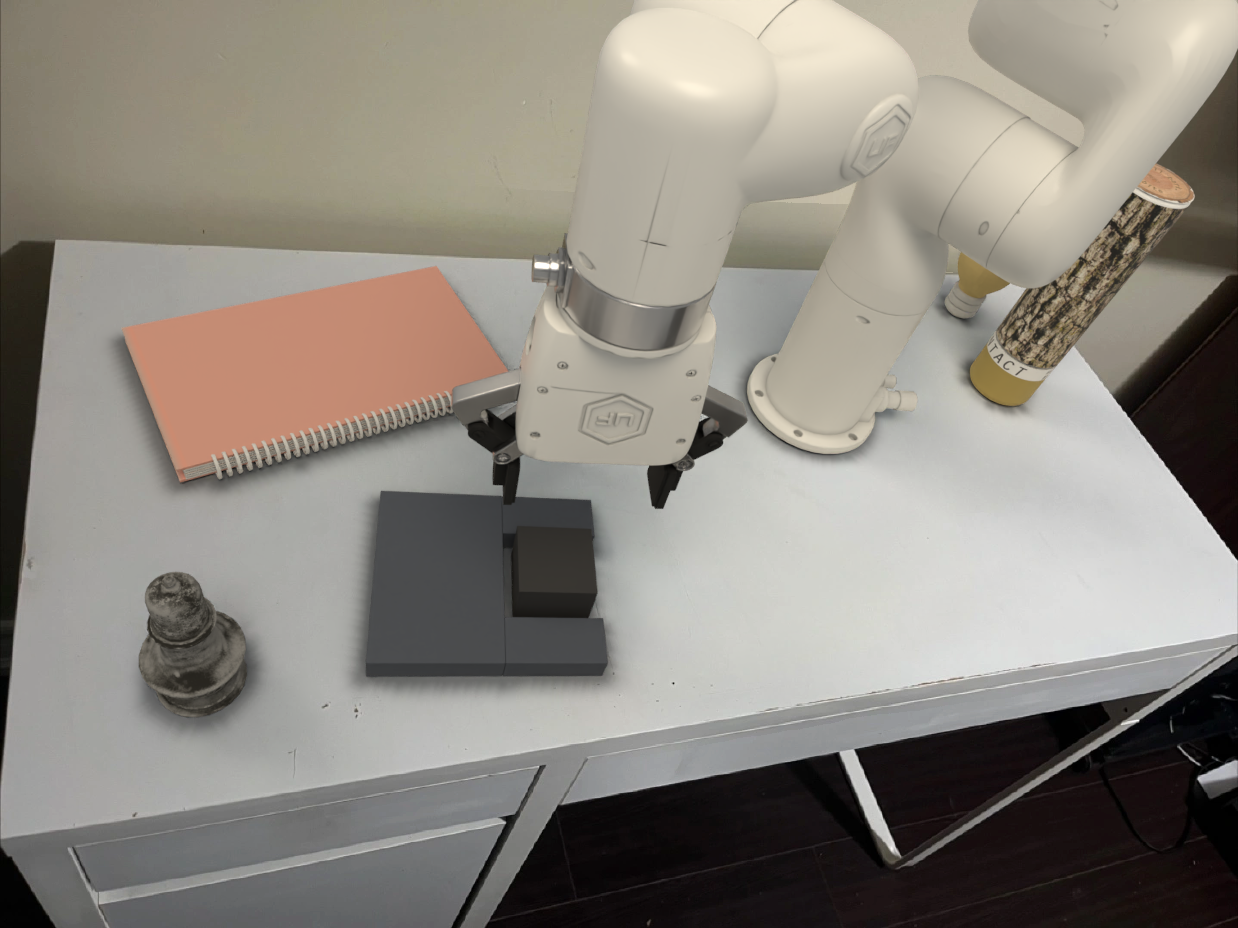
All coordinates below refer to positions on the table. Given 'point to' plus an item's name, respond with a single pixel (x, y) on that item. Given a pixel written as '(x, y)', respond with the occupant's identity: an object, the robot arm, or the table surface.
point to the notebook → (306, 369)
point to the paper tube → (1077, 293)
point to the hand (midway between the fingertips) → (582, 489)
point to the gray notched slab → (468, 591)
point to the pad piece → (553, 572)
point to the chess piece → (190, 648)
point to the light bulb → (971, 288)
